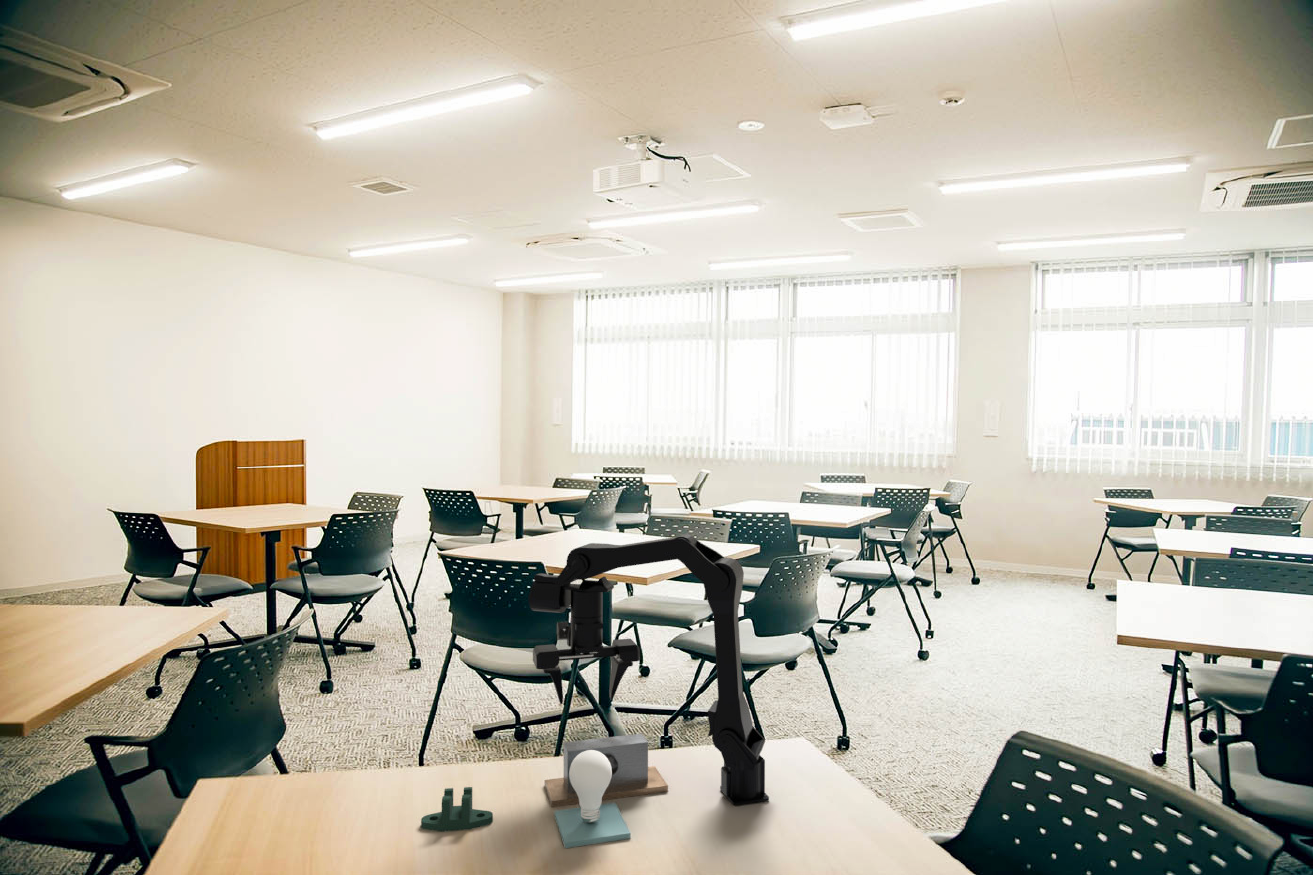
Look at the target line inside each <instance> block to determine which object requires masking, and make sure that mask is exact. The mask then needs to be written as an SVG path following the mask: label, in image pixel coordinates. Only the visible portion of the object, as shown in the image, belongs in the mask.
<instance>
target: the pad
mask: <svg viewBox="0 0 1313 875" xmlns="http://www.w3.org/2000/svg"><path fill="white" fill-rule="evenodd" d="M599 809H600V818H599V819H598V820H597V821H595V822H592V823H588V822H585V821H583V820H582V817H581V807H580V806H579V807H574V808H566V809H560V810H559V809H558V810H554V813H553V814H554V815H553V817H554V819H555V822H556V825H557V829H558V831H559V834H560V838H561V841H562V843H563V847H564V848H565V849H569V848H575V847H576V848H577V847H583V846H589V845H595V844H596V845H597V844H601V843H608V842H614V841H615V842H616V841H621V840H629V839H631V831H630V829H629V827H628V825H627V823H626V821H625V819H624V817H623V815H622V814H621V811H620V809H619V807H618V806H617V803H616V802H610V803H601V806H600V807H599Z"/></svg>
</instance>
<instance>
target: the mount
mask: <svg viewBox="0 0 1313 875" xmlns="http://www.w3.org/2000/svg"><path fill="white" fill-rule="evenodd" d="M443 792H444V794H443V796H442V798H441V811H439V812H434V813H429V814H426V815H424V816H423V817H422V818H421V819H420V822H421V823H420V828H421V829H423V830H426V831H434V832H439V833H440V832H457V831H470V830H474V829H478V828H483V827H486V826H489V825H491V824H492V823H493V822H494V817H493V816H494V814H493V812H492V811H491V810H483V809H475V808H473V786H468V787H467V786H465V787H463V794H462V795H461V802H460V804H461V805H454V788H453V787H451V788H450V787H449V788H445V789H444V791H443Z"/></svg>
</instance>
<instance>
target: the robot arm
mask: <svg viewBox="0 0 1313 875" xmlns="http://www.w3.org/2000/svg"><path fill="white" fill-rule="evenodd" d="M673 560H678V561H679V562H681V563H682V564H683V565H684V566H685V567H686V568H687V570H688V571H690V573H692V575H693V576H694V577H696V578H697V579H698V580H700V581H701V582H702V584H703V586H704V592H705V596H706V600H707V602H708V603H707V604H708V606H709V607H710V611H711V613H712V616H713V627H714V628H713V629H714V646H715V647H714V648H715V662H716V663H715V665H716V681H717V699H716V700H714V701H713V703H712V704H711V706H710V708H709V709H708V710H707V719H708V723H709V732H708V735H707V736H708V737H711V739H712V740H711V741H712V744H713V746H714V747H715V748H716V749H717V750H718V751H719V752H720V753H721V756H722V759H723V766H722V767H720V771H721V772H720V779H721V780H720V787H719V789H720V791H721V792H722V793H723V794H724V795H725V797H726V798H727V799H728V801H729V802H730V803H731V804H732V805H734V806H739V805H748V804H753V803H760V802H761V803H762V802H767V801H769V800H770V796H769V795H768V794H767V793H766V784H765V783H766V782H765V781H766V778H765V777H766V774H765V772H766V760H765V758H764V757H763V756H761V753H762V750H763V748H764V746H765V743H766V739H765V738H764V737H763V735H762V734H760V732H759V730H757V729H756V728H755V727H754V726H753V720H752V717H751V712H750V707H749V705H748V702H747V699H746V697H745V694H744V691H743V675H742V658H741V656H742V655H741V643H740V624H739V607H740V602H741V596H742V592H743V585H744V568H743V566H742V564H740V563H739V562H738V561H737V560H736V559H734V558H732V557H727V556H726V557H725V556H723V555H722V554H721V553H719V552H718V551H717V550H715V549H713V548H711V547H710V546H708V545H706V544H703V543H702V542H701V541H699V539H696V537H694V536H693V535H691V534H689V533H688V534H681V535H679V536H674V537H673V536H672V537H668V538H660V539H653V540H648V541H647V540H646V541H642V542H641V541H640V542H634V543H627V544H621V545H619V544H611V543H610V544H609V543H599V542H598V543H595V542H594V543H593V542H592V543H587V544H585V545H581V546H579V547H576V548H573V549H572V550H570V552H569V553H568V555H567V558H566V565H565V566H564V567H563V569H562V570H561V571H560V573H559V574H558V575H557V574H548V573H541V572H540V573H537V574H535V575H534V581H533V583H532V585H531V587H530V592H529V594H528V605H529V607H530V608H529V609H531V611H533V612H545V613H557V614H558V613H559V614H563V613H564V612H566V610H567V608H570V620H569V621H570V623H568V621H558V622H556V640H557V641H566V645H567V647H570V648H567V649H566V648H565V649H558V648H557V646H556V645H555V644H540V645H535V647H533V650H532V662H533V664H534V666H535V669H536V670H542V672H543V673H544V674H545V675H546V674H549V675H550V677H551V680H552V682H553V685H554V688H555V693H556V696H557V699H558V702H559V704H560V705H563V704H564V703H563V702H564V693H563V692H564V691H563V680H562V678H563V677H562V669H561V668H560V665H559V664H560V662H561V661H571V660H572V661H573V660H574V661H575V660H587V659H598V658H599V659H600V658H610V676H609V699H610V700H613V699H614V698H615V695H616V692H617V690H618V688H619V686H620V683H621V681H622V678H623V677H624V675H625V674H626V672H627V669H628V668H630V667H633V666H634V662H639V661H640V660H641V649H640V647H639V645H637V643H636V642H635V641H634V640H633V639H631V638H623V639H612V642H611V645H603V629H604V622H603V593H609V592H610V591H612V590H613V589H614V588H615V586H614V585H613V583H612V582H610V581H609V580H608V578H606V576H602V577H600V578H599V579H598V580H592V579H590V578H593V577H596V576H600V575H602V574H604V573H607V572H609V571H610V572H611V571H612V570H616V569H620V568H624V567H631V566H638V565H646V564H652V563H653V564H655V563H659V562H668V561H673ZM577 580H579V581H581V583H573V582H575V581H577ZM569 624H570V625H569Z"/></svg>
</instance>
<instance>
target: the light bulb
mask: <svg viewBox="0 0 1313 875" xmlns="http://www.w3.org/2000/svg"><path fill="white" fill-rule="evenodd" d="M611 777H612V768H611V764H610V762H609V760H608V758H607V757H606V756H605V755H604V754H602V753H601V752H599V751H596V750H586V751H584V752H581V753H580V754H578V755H577V756H576V757H575V758H574V760H573V762H572V763H571V766H570V770H569V778H570V782H571V784H572V786H573V788H574V790H575V791H576V793H577V795H578V797H579V807H581V817H582V820H583V821H585V822H588V823H592V822H595V821H597V820H598V819H599V818H600V809H599V807H600V806H601V804H602V801H603V800H602V796H603V794H604V792H605V790H606V788H607V787H608V785H609V783H610V780H611Z"/></svg>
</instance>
